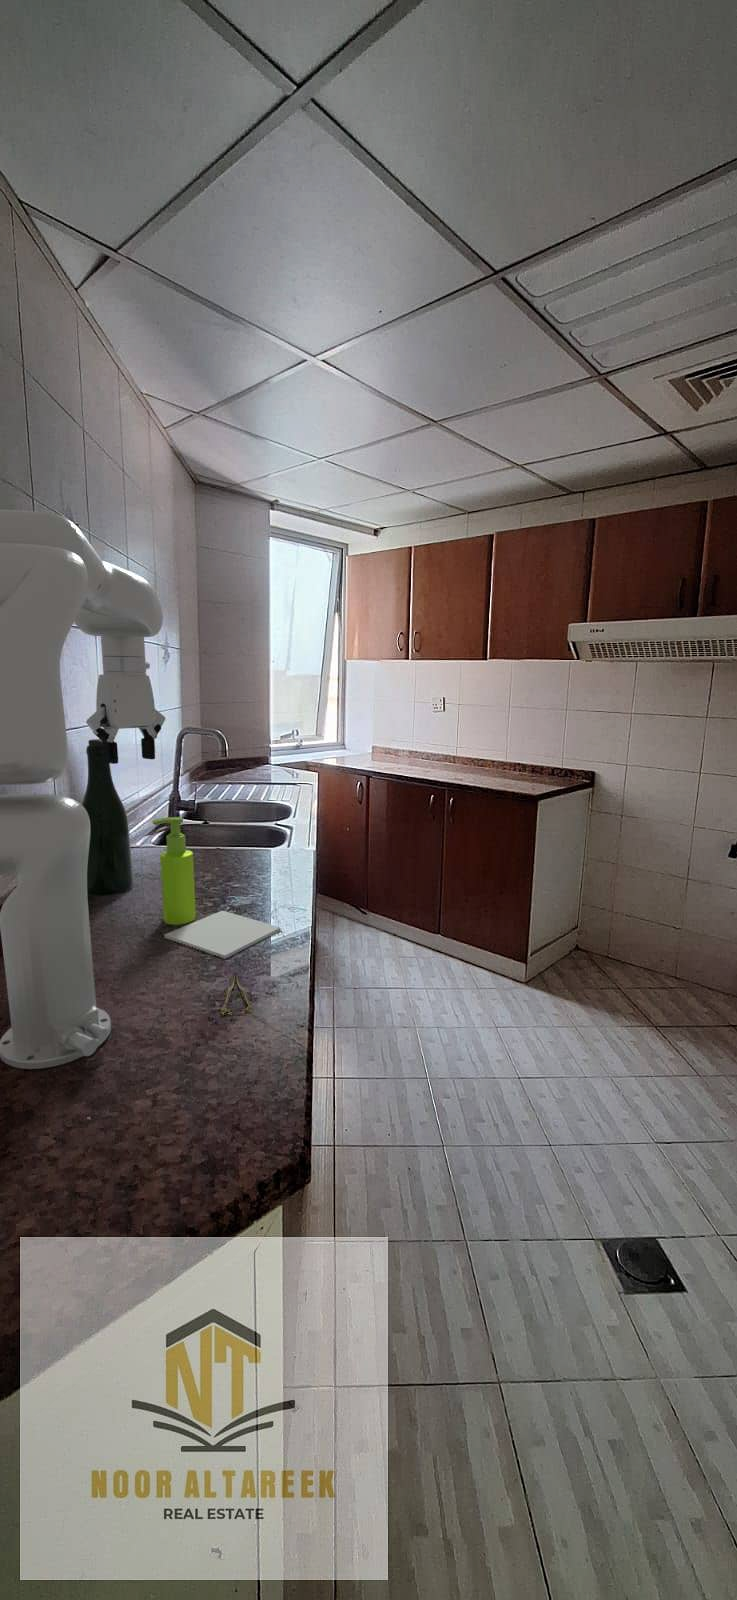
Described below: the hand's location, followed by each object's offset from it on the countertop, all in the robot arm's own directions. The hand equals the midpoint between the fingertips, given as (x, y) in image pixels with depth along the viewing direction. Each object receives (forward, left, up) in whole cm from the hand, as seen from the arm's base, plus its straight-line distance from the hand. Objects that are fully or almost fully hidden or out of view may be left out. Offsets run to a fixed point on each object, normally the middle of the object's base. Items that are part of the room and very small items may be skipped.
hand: (130, 760), depth 115 cm
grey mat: (-24, 0, -30) cm, 38 cm away
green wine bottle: (+15, -3, -30) cm, 34 cm away
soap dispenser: (-11, 0, -30) cm, 32 cm away
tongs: (-40, +14, -31) cm, 53 cm away
